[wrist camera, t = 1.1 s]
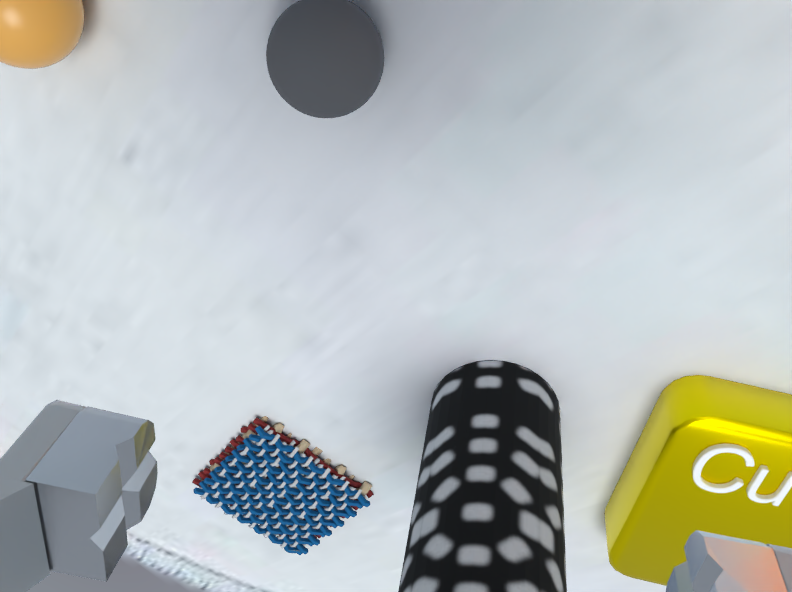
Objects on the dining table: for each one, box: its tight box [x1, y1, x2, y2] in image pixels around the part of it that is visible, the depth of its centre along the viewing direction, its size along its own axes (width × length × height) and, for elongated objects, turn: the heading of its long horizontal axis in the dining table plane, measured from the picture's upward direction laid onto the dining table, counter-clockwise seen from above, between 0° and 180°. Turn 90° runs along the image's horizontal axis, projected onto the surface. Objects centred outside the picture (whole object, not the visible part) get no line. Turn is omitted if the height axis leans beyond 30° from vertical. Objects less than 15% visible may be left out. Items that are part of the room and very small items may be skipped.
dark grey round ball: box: [266, 0, 384, 118], centre depth 36 cm, size 6×6×6 cm
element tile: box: [604, 375, 792, 586], centre depth 48 cm, size 15×15×5 cm
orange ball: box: [0, 0, 84, 69], centre depth 37 cm, size 6×6×6 cm
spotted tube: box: [399, 361, 567, 592], centre depth 41 cm, size 8×8×20 cm
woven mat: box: [192, 416, 374, 555], centre depth 56 cm, size 10×11×2 cm
